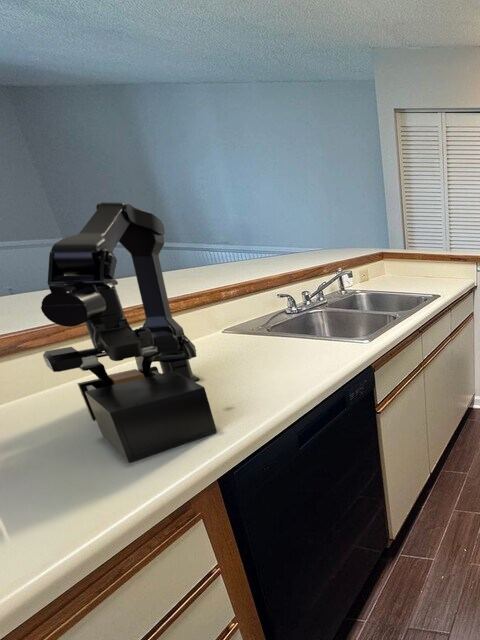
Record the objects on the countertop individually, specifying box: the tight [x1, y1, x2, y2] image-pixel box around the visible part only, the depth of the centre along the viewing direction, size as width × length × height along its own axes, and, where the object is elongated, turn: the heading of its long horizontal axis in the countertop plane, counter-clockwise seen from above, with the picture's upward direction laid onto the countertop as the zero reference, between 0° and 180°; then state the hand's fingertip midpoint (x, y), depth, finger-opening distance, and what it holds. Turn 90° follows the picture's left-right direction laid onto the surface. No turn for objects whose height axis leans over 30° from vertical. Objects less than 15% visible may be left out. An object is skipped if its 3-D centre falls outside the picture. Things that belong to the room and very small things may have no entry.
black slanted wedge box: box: [85, 371, 218, 464], centre depth 79 cm, size 15×14×10 cm
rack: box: [77, 365, 162, 422], centre depth 84 cm, size 15×12×8 cm
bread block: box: [108, 368, 145, 385], centre depth 84 cm, size 4×4×4 cm
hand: (130, 390), depth 84 cm, fingers closed on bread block, 4 cm apart
